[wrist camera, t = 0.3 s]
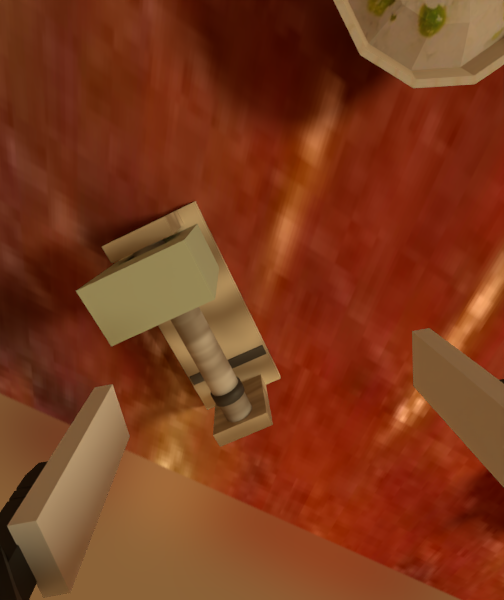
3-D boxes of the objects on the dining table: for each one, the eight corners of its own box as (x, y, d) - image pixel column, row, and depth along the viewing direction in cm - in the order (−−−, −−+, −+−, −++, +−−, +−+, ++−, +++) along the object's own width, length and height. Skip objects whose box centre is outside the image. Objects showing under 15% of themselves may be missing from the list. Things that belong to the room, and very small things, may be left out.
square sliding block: (118, 260, 38) (75, 290, 27) (197, 223, 37) (184, 239, 27) (143, 302, 39) (111, 346, 29) (219, 267, 38) (215, 299, 28)
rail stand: (112, 240, 40) (80, 256, 31) (195, 201, 39) (185, 206, 31) (207, 404, 47) (202, 454, 38) (279, 373, 46) (290, 417, 38)
